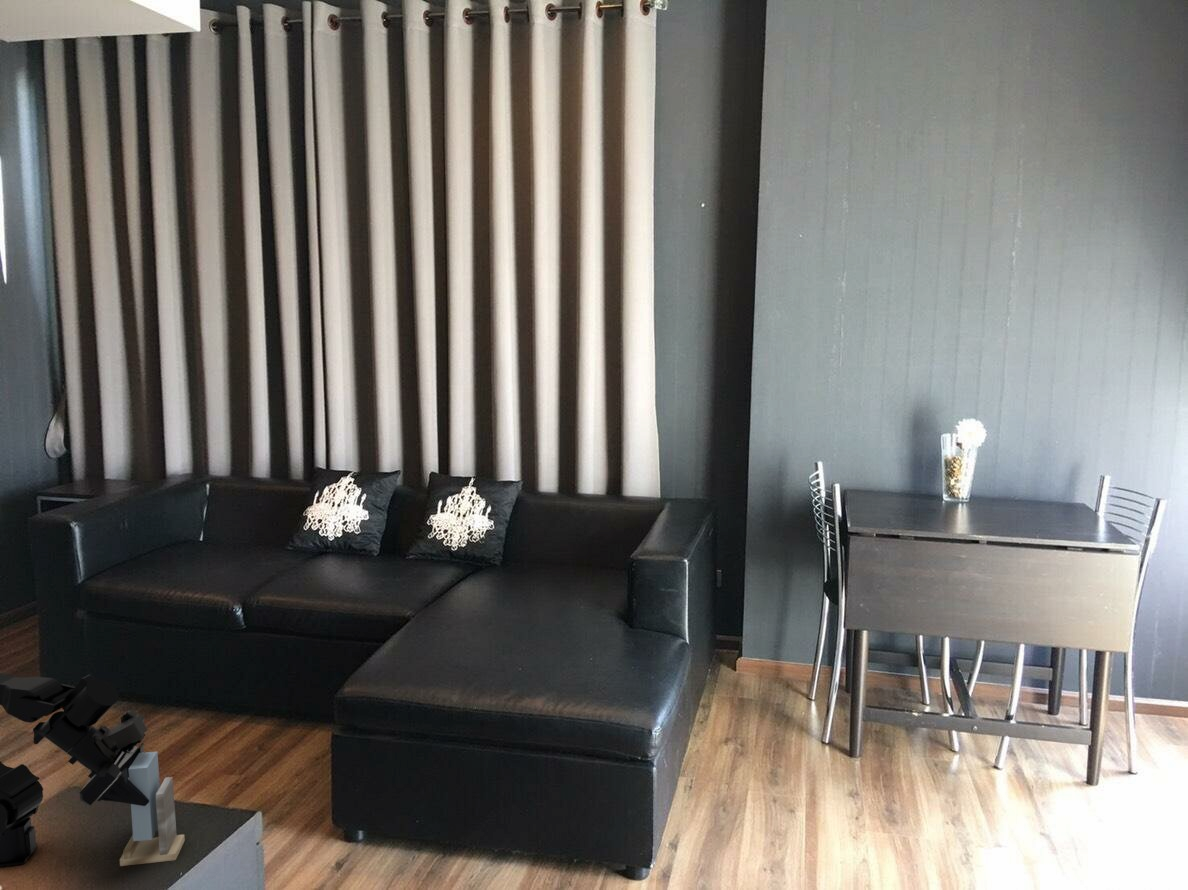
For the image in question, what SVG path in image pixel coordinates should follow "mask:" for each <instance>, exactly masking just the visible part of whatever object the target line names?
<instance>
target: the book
mask: <svg viewBox="0 0 1188 890" xmlns="http://www.w3.org/2000/svg"><path fill="white" fill-rule="evenodd" d="M158 754H159V753H158V751H147V752H144V751H143V753H139V754H138V756H137V757H136V759H135V760H134V762H133V763H132V765H131V766H130V768H129V778H128V780H129V781H130V782H131V783H132V784H134V785H135V786H136V787H137V788H138V789H139V790H140V791H141V792H142V793H143V794H144V795H145V796H146V797H147V798H148V799H149V803H148V804H147V805H146V806H140V805H134V804H130V810H131V811H130V813H131V827H132V828H131V829H132V835H133V841H142V840H152V839H153V838H155V835H156V833H157V832H158V821H157V807H156V793H157V791H158V790H159V788H160V786H161V785H160V784H161V782H160V783H159V781H160V773H159V772H160V771H159V770H160V769H159V755H158Z"/></svg>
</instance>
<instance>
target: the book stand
mask: <svg viewBox="0 0 1188 890" xmlns="http://www.w3.org/2000/svg"><path fill="white" fill-rule="evenodd" d="M173 777H174V776H170V777H169V776H168V777H164V779H163V781H162V782H161V783H160V784H161V785H160V788H159V790H158V791H157V793H156V807H157V821H158V829H157V832H158V836H156V837H155V836H154V837H153V839H152V840H142V841H133V834H131V836H130V838H129V840H128V842H127V844H126V846H125V848H124V849H123V851H122V852H123V853H122V855H121V857H120V858H119V866H120V867H124V866H134V865H144V864H152V863H153V864H154V863H161V862H171V861H176V860H177V858H178V857H179V854H180V852H181V850H182V847H183V845H184V843H185V841H186V839H185V833H184V834H183V833H182V834H177V823H176V808H175V794H174V781H173Z"/></svg>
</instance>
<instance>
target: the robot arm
mask: <svg viewBox="0 0 1188 890" xmlns="http://www.w3.org/2000/svg"><path fill="white" fill-rule="evenodd" d="M118 701H119V692H118V689H117V688H116V686H115V685H114V684H113V683H112V682H111V683H110V682H108V681H107V680H104V679H101V678H95V677H94V676H93V675H92V674H88V675H86V676H84V677H82V678H81V679H80V680H79V681H78V682H77V684H76V685H75V686H74V685H68V684H66V683H62V682H61V681H59V680H58V679H55V678H52V677H45V676H26V677H18V676H17V677H16V676H12V675H8V674H6V673H1V672H0V706H2V708H3V710H4V711H5V712H6V714H8V715H9V716H11V717H13V718H15V719H17V720H19V721H21V722H24V723H28V724H29V723H35V722H37V721H39V720H40V719H42V718H44V717H47V716H50V715H51V714H52V715H51V716H50V717H49V718H48V719H47V720H46V721H40V722H38V723H37V724H36V725H35V726H34V727H33V728H32V732H33V744H34V745H38V744H39V743H40V742H41V741H42V740H43V739H44V738H45V739H47V740H48V741H49V742H50V743H52V744H54V745H55V746H56V747H57V748H58V749H60V750H61V751H63V752H64V753H65V754H67V755H68V756H69V759H68V763H69V764H70V765H72V766H74V764H75V763H77V762H78V763H79V764H80V765H81V766H83V767H84V768H85V769H86V770H88V771H89V774H88V775H87V777H88V778H89V779H88V780H87V781H86V783H85V784H84V786H83V787H82V788H81V789H80V791H79V800H80V801H81V802H83V803H84V804H85V805H87V806H88V807H90V806H92V805H93V803H95V801H96V802H98V803H99V802H101V801H105V802H116V803H124V804H129V805H131V804H134V805H140V806H146V805H147V804H148V803H149V799H148V798H147V797H146V796H145V795H144V794H143V793H142V792H141V791H140V790H139V789H138V788H137V787H136V786H135V785H134V784H132V783H131V782H130V781H129V768H130V766H131V765H132V763H133V762H134V760H135V759H136V757H137V756H138V754H139V753H144V746H145V743H144V742H142V741H143V739H144V738H145V737H146V734H145V733H146V732H148V727H146V726H147V725H146V724H145V723H144V721H145V716H144V715H141V714H140V713H139V712H136V711H134V710H133V709H130V710H128V711H125V712H124V713H122V715H121V716H120V722H119V723H117V724H116V725H115V726H114V727H112V728H108V727H107V726H105V725H100V726H99V727H96V726H95V725H96V724H97V722H98V721H99V720H101V718H102V717H104V715H106V714H107V712H108V711H109V710H111V708H112V707H114V705H115V704H116V703H117V702H118ZM59 710H61V711H59ZM56 711H57V712H56ZM140 743H141V744H140ZM138 744H139V746H137V745H138ZM39 780H40V777H38V776H36V775H35V774H34V773H32V771H31V770H30V769H29V767H28V766H27V765H25V764H23V763H21V764H19V765H18V766H16V767H14V768H13V767H11V766H8V765H5V764H4V763H3V762H2V761H1V760H0V867H10V866H21V865H23V864H25V863H26V862H27V861H28V859H29V858H30V856H31V855H32V853H34V851H35V850H36V848H37V847H38V843H37V839H36V828H35V826H34V825H32V819H31V817H32V816H34V815H36V814H37V813H38V810H39V807H40V804H41V803H42V801H43V798H44V793H43V791H44V788H43V785H42V784H41V782H39ZM159 783H160V784H161V782H160V780H159Z"/></svg>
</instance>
